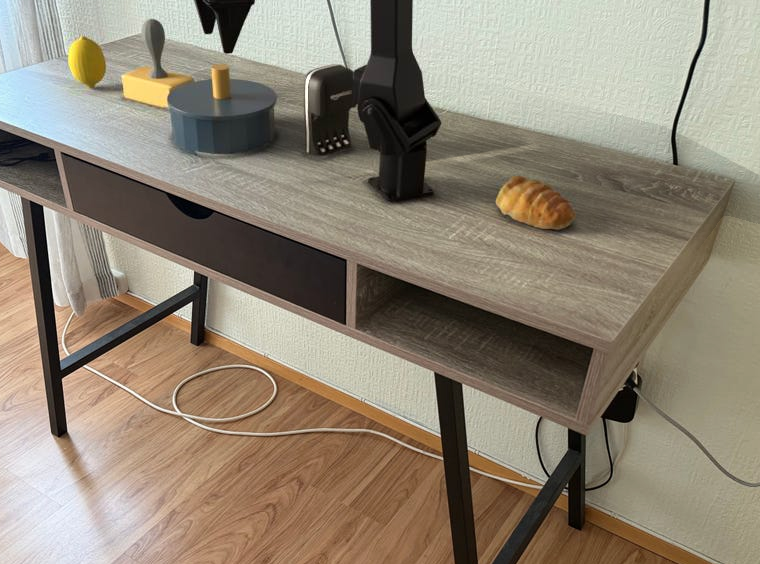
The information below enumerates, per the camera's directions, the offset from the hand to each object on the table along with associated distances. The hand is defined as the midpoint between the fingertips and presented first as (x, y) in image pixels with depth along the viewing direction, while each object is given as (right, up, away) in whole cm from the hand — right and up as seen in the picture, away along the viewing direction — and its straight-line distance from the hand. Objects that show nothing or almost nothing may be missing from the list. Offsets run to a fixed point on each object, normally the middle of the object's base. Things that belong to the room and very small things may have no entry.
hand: (217, 43), depth 108 cm
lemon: (-24, +1, +23) cm, 33 cm away
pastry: (+40, -24, -9) cm, 48 cm away
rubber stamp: (-12, -2, +19) cm, 23 cm away
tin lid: (0, -6, +5) cm, 8 cm away
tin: (0, -10, +8) cm, 13 cm away
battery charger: (+15, -14, +5) cm, 21 cm away
